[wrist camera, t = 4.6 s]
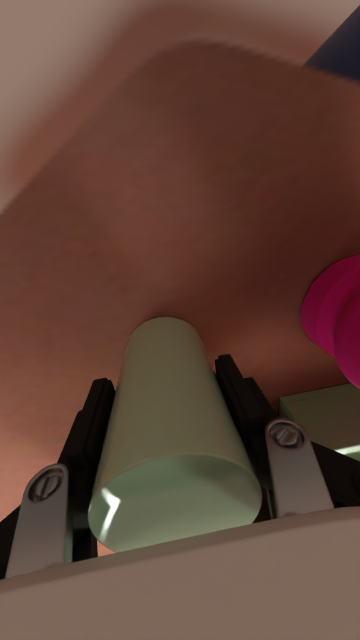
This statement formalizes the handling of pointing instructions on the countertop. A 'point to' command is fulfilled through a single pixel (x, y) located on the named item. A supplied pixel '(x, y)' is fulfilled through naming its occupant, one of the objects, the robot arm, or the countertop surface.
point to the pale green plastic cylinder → (170, 447)
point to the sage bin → (327, 417)
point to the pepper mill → (336, 315)
